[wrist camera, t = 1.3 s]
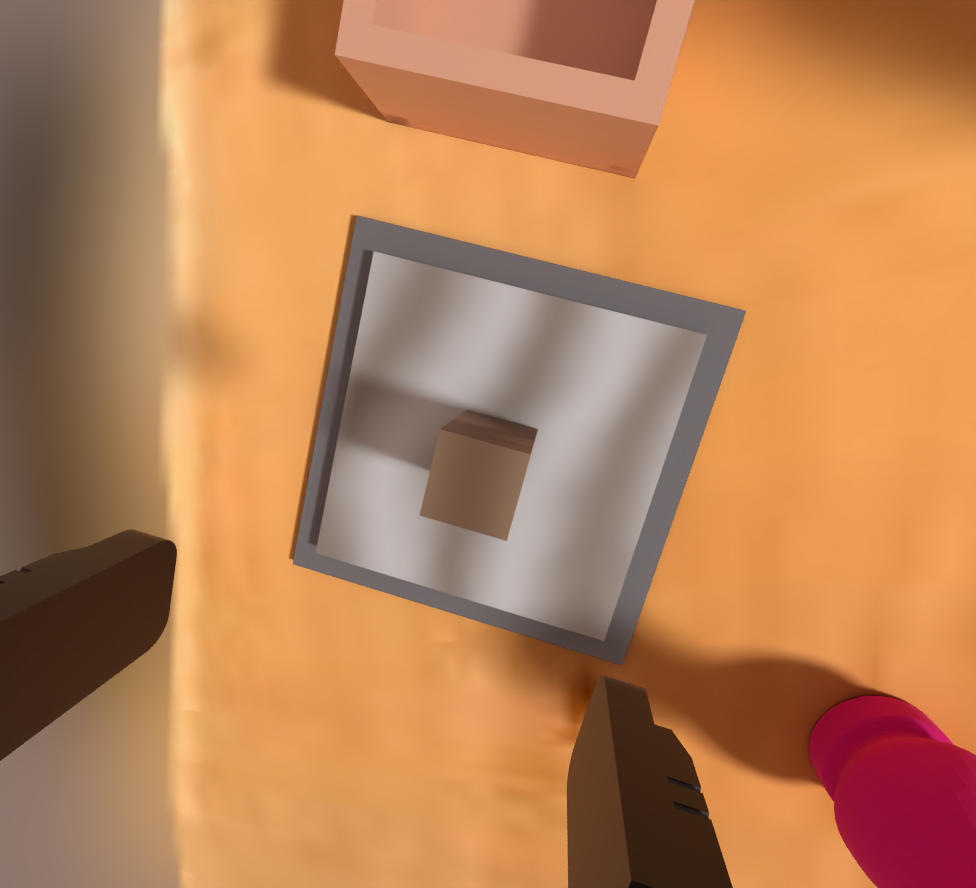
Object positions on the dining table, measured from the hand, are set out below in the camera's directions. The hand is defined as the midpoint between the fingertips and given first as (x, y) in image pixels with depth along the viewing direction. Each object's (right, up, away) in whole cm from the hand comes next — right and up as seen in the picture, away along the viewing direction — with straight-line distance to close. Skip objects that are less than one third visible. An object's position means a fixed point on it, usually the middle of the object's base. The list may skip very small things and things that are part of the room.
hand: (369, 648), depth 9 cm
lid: (+3, +3, +18) cm, 18 cm away
